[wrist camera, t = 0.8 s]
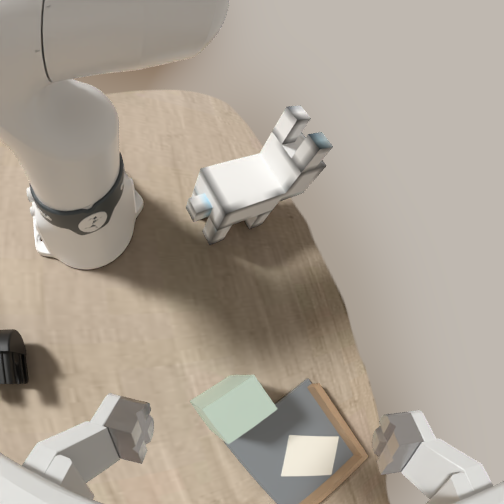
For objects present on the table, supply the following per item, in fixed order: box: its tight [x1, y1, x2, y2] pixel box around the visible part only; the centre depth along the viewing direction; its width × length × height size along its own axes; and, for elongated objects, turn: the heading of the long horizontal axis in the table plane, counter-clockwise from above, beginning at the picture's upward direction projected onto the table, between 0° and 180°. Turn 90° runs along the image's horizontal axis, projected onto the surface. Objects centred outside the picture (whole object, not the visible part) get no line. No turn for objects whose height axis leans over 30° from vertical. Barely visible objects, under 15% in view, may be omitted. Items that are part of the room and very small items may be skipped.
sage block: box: [190, 375, 277, 444], centre depth 34 cm, size 5×7×10 cm
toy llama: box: [186, 106, 333, 245], centre depth 42 cm, size 8×18×20 cm, turn 121°
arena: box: [224, 379, 369, 504], centre depth 37 cm, size 18×16×3 cm
